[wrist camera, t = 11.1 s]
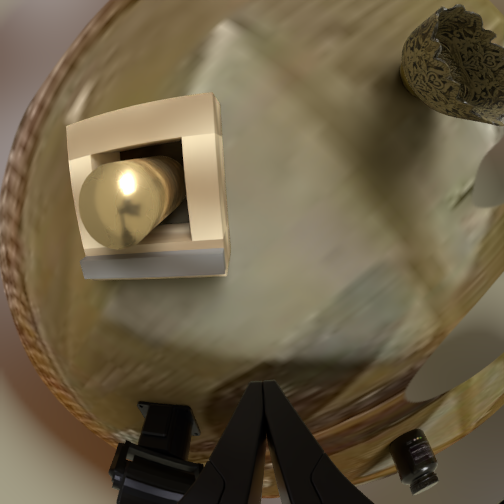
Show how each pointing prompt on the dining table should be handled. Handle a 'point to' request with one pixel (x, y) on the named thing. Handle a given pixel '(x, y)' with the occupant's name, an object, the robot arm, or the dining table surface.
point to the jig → (196, 178)
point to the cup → (456, 66)
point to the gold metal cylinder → (130, 199)
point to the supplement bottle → (414, 461)
